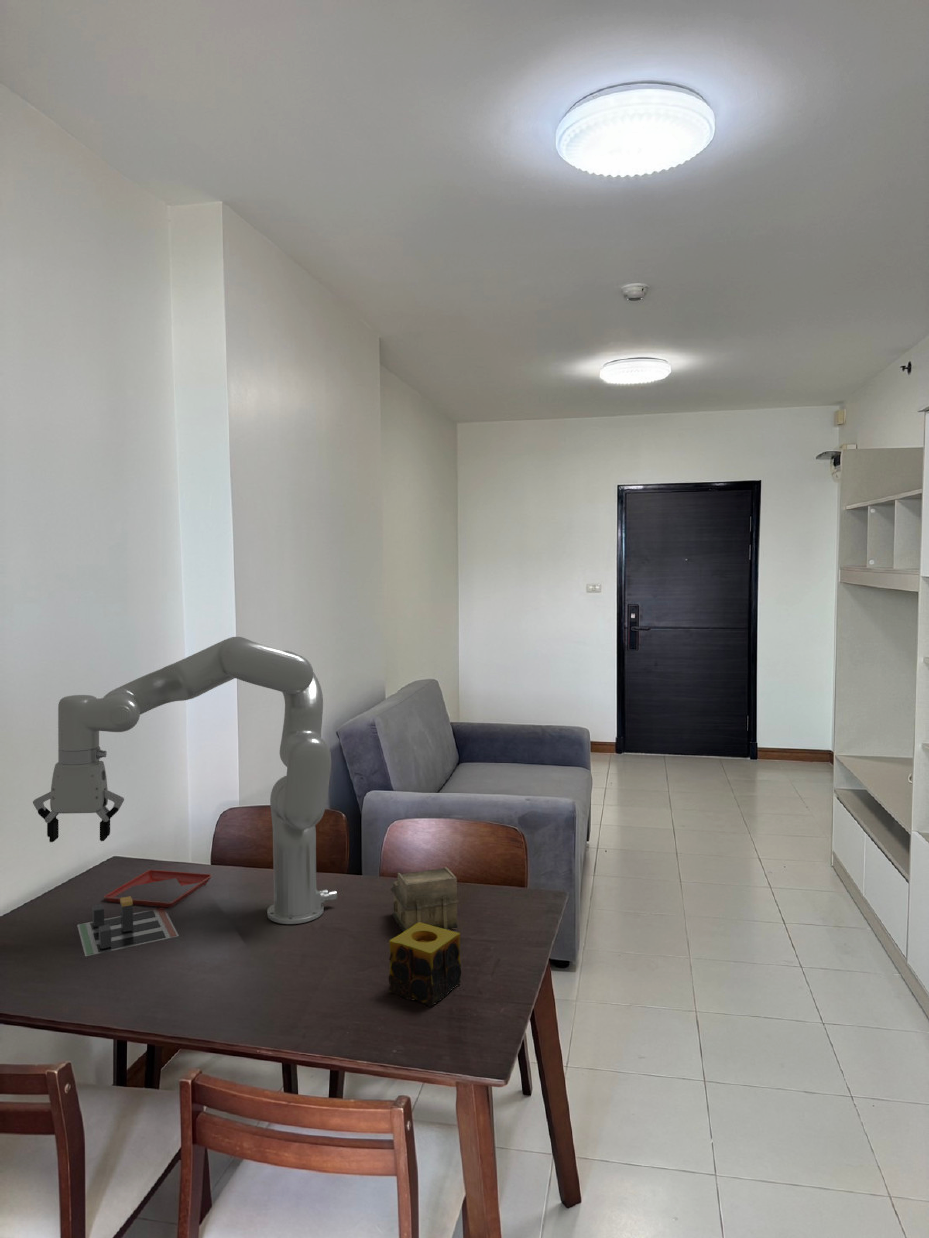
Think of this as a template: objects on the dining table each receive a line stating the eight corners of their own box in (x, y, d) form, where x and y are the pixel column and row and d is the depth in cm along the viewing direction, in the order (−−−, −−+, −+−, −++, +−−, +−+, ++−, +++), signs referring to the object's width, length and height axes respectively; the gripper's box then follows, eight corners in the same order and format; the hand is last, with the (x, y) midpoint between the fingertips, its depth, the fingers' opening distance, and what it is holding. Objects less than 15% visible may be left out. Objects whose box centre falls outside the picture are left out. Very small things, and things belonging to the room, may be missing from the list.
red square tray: (102, 909, 191) (102, 895, 191) (149, 881, 209) (149, 868, 209) (171, 917, 187) (171, 902, 187) (213, 887, 205) (213, 874, 204)
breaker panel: (164, 913, 188) (163, 906, 188) (179, 942, 173) (178, 935, 173) (77, 931, 179) (77, 924, 179) (85, 963, 164) (85, 955, 164)
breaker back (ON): (102, 919, 180) (102, 903, 180) (104, 924, 178) (103, 908, 178) (92, 921, 179) (92, 905, 179) (94, 926, 177) (93, 910, 177)
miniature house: (469, 931, 179) (469, 879, 178) (406, 940, 174) (406, 887, 173) (447, 904, 193) (447, 856, 192) (389, 913, 188) (388, 864, 188)
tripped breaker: (131, 924, 178) (130, 895, 177) (133, 929, 175) (132, 900, 175) (120, 926, 177) (120, 897, 176) (122, 932, 174) (122, 903, 174)
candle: (432, 1008, 147) (432, 954, 147) (387, 993, 152) (386, 940, 152) (462, 984, 156) (462, 932, 155) (418, 970, 161) (418, 920, 160)
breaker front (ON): (109, 940, 170) (109, 924, 170) (111, 946, 168) (111, 929, 167) (99, 942, 169) (98, 926, 169) (100, 948, 167) (100, 931, 166)
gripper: (128, 752, 172) (128, 833, 173) (40, 752, 170) (40, 834, 171) (118, 760, 165) (118, 844, 165) (26, 761, 162) (26, 846, 163)
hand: (79, 839), depth 168 cm, fingers open, 9 cm apart
